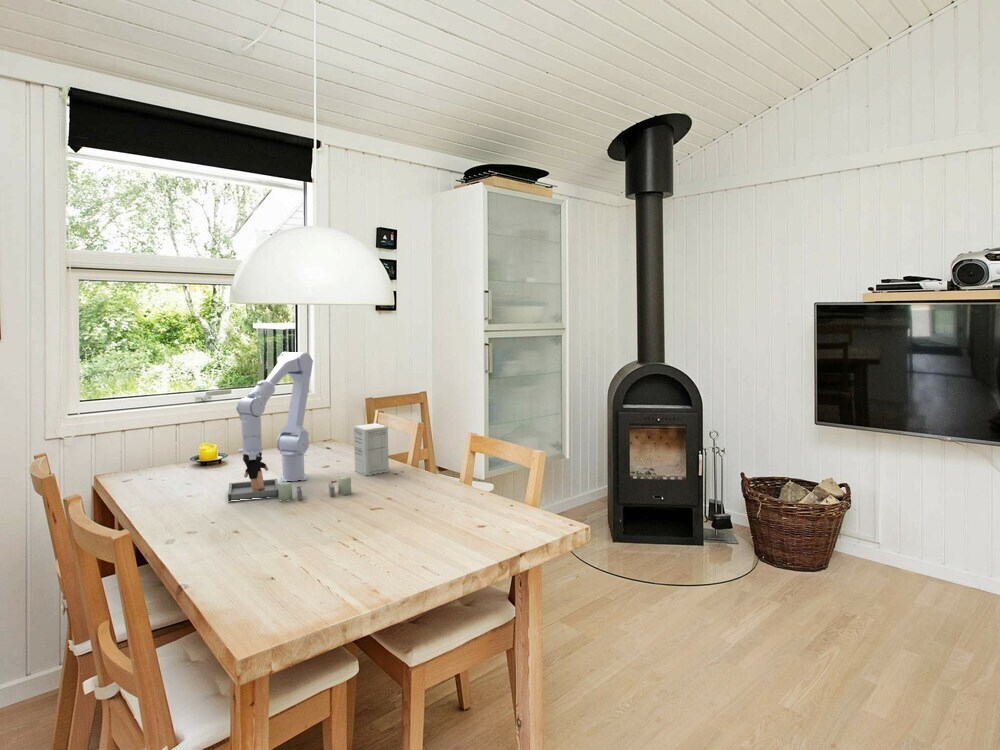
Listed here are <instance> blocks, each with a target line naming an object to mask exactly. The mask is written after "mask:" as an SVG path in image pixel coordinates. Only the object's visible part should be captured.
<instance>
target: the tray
mask: <svg viewBox="0 0 1000 750" xmlns="http://www.w3.org/2000/svg"><path fill="white" fill-rule="evenodd" d="M263 483H264V487H265V488H266V489H264V490H259V489H258V491H254V492H251V491H252V487H251V480H250V481H240V482H229V484H228V490H227V491H228V492H227V493H228V494H227V500H228V501H231V500H240V499H252V498H267V497H277V498H279V497H278V496H279V493H278V484H279V482H278V479H277V478H272V479H271V478H270V479H263ZM267 499H268V498H267ZM228 501H227V502H228Z"/></svg>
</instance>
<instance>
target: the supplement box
mask: <svg viewBox="0 0 1000 750" xmlns="http://www.w3.org/2000/svg"><path fill="white" fill-rule="evenodd" d="M388 429H389V428H388V426H386V425H382V424H380V423H376V422H374V423H367V424H359V425H354V426H353V450H354V451H353V452H354V453H353V454H354V455H353V456H354V471H355V472H356V471H357V472H356V473H358V472H359V474H361V473H362V474H361V475H363V474H364V475H363V476H365V475H369V476H373V475H372V474H374V475H378V474H377V473H379V474H384V473H388V472H390V469H389V468H390V467H389V465H390V464H389V430H388ZM383 472H384V473H383Z"/></svg>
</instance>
